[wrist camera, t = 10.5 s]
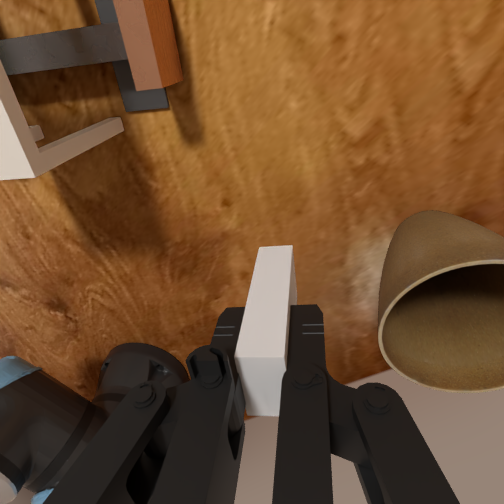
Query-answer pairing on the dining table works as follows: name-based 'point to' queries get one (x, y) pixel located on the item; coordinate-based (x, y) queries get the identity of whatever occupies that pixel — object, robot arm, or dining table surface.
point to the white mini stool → (55, 153)
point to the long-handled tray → (106, 46)
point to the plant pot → (444, 304)
